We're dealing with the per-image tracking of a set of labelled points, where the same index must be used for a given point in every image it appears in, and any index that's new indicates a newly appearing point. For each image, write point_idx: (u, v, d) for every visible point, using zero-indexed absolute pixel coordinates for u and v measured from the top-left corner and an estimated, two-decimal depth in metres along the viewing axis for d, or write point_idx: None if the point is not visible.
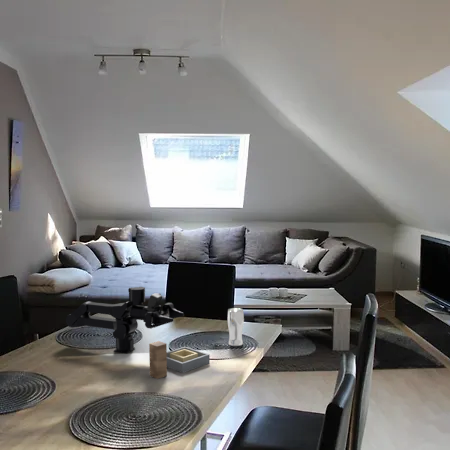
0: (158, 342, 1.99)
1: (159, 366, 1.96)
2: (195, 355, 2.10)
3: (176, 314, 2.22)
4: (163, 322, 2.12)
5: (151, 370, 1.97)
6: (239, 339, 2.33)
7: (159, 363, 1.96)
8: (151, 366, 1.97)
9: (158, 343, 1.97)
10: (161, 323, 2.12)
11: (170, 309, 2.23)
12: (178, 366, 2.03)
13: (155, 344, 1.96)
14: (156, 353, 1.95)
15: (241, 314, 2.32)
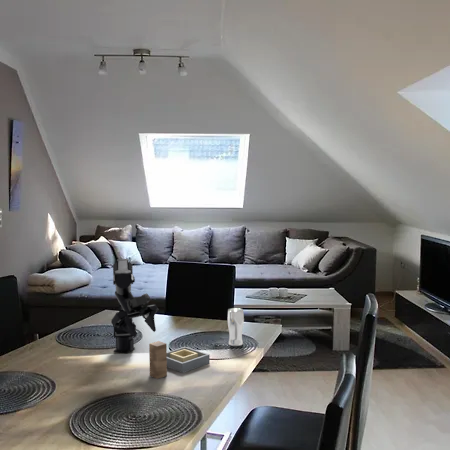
0: (158, 342, 1.99)
1: (159, 366, 1.96)
2: (195, 355, 2.10)
3: (150, 323, 2.08)
4: (127, 330, 2.01)
5: (151, 370, 1.97)
6: (239, 339, 2.33)
7: (159, 363, 1.96)
8: (151, 366, 1.97)
9: (158, 343, 1.97)
10: (125, 329, 2.01)
11: (149, 315, 2.09)
12: (178, 366, 2.03)
13: (155, 344, 1.96)
14: (156, 353, 1.95)
15: (241, 314, 2.32)
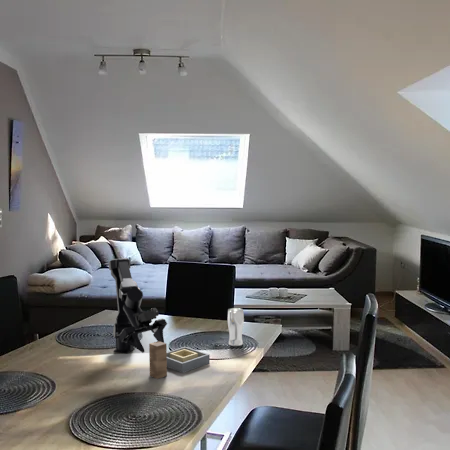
0: (158, 342, 1.99)
1: (159, 366, 1.96)
2: (195, 355, 2.10)
3: (159, 338, 2.04)
4: (135, 345, 1.97)
5: (151, 370, 1.97)
6: (239, 339, 2.33)
7: (159, 363, 1.96)
8: (151, 366, 1.97)
9: (158, 343, 1.97)
10: (133, 344, 1.97)
11: (158, 330, 2.05)
12: (178, 366, 2.03)
13: (155, 344, 1.96)
14: (156, 353, 1.95)
15: (241, 314, 2.32)
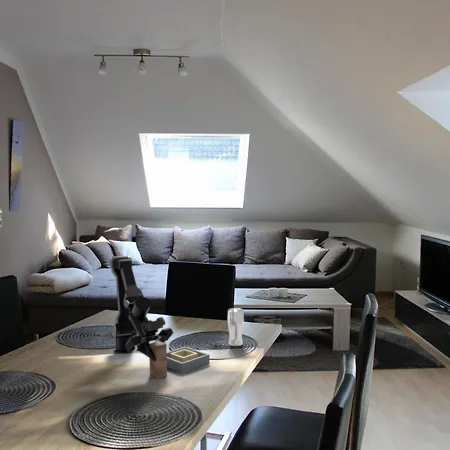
0: (158, 342, 1.99)
1: (159, 366, 1.96)
2: (195, 355, 2.10)
3: None
4: (146, 354, 1.96)
5: (151, 370, 1.97)
6: (239, 339, 2.33)
7: (159, 362, 1.96)
8: (151, 366, 1.97)
9: (159, 343, 1.97)
10: (144, 353, 1.97)
11: (160, 340, 2.01)
12: (178, 366, 2.03)
13: (155, 344, 1.96)
14: (156, 353, 1.95)
15: (241, 314, 2.32)
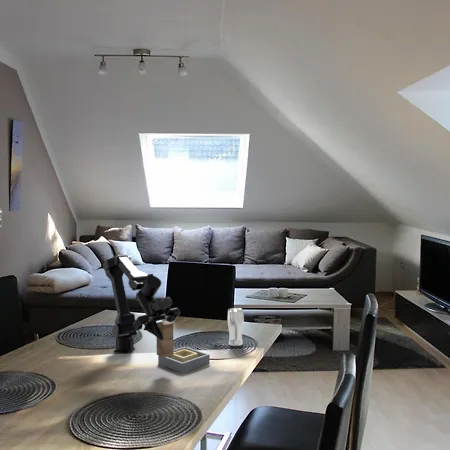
0: (165, 321, 2.02)
1: (166, 345, 1.99)
2: (195, 355, 2.10)
3: None
4: (154, 333, 1.99)
5: (158, 349, 2.00)
6: (239, 339, 2.33)
7: (166, 341, 1.98)
8: (158, 345, 2.00)
9: (165, 323, 2.00)
10: (152, 332, 2.00)
11: (167, 320, 2.04)
12: (178, 366, 2.03)
13: (162, 323, 1.99)
14: (163, 332, 1.98)
15: (241, 314, 2.32)
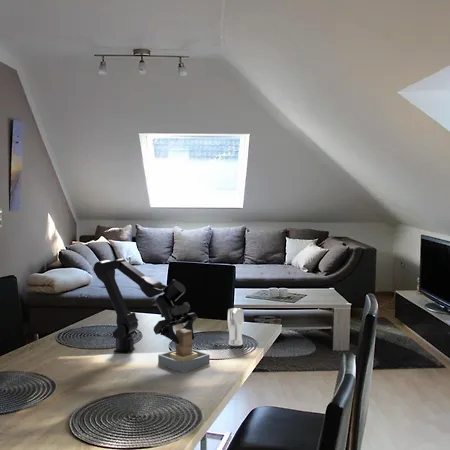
0: (184, 329, 2.11)
1: (185, 352, 2.08)
2: (195, 355, 2.10)
3: None
4: (170, 337, 2.08)
5: None
6: (239, 339, 2.33)
7: (185, 348, 2.08)
8: (177, 352, 2.10)
9: (185, 330, 2.09)
10: (168, 336, 2.08)
11: (188, 323, 2.14)
12: (178, 366, 2.03)
13: (181, 331, 2.09)
14: (182, 339, 2.07)
15: (241, 314, 2.32)
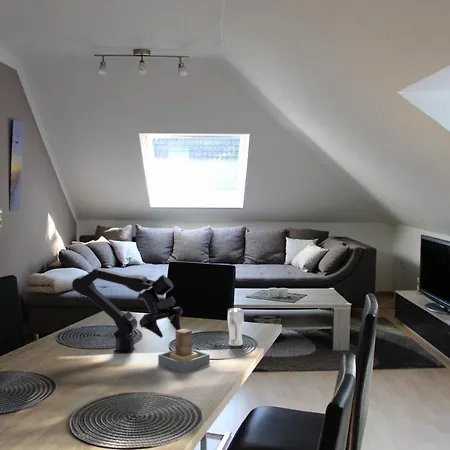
0: (184, 329, 2.11)
1: (185, 352, 2.08)
2: (195, 355, 2.10)
3: (175, 324, 2.20)
4: (154, 331, 2.13)
5: None
6: (239, 339, 2.33)
7: (185, 348, 2.08)
8: (177, 352, 2.10)
9: (184, 330, 2.10)
10: (152, 330, 2.14)
11: (175, 317, 2.21)
12: (178, 366, 2.03)
13: (181, 331, 2.09)
14: (182, 339, 2.07)
15: (241, 314, 2.32)
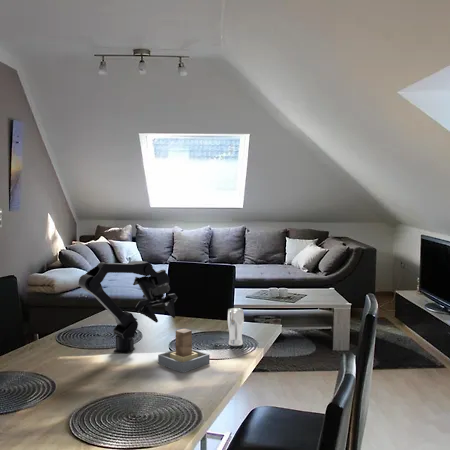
0: (184, 329, 2.11)
1: (185, 352, 2.08)
2: (195, 355, 2.10)
3: (170, 310, 2.28)
4: (149, 316, 2.21)
5: None
6: (239, 339, 2.33)
7: (185, 348, 2.08)
8: (177, 352, 2.10)
9: (184, 330, 2.10)
10: (148, 315, 2.22)
11: (169, 303, 2.29)
12: (178, 366, 2.03)
13: (181, 331, 2.09)
14: (182, 339, 2.07)
15: (241, 314, 2.32)
